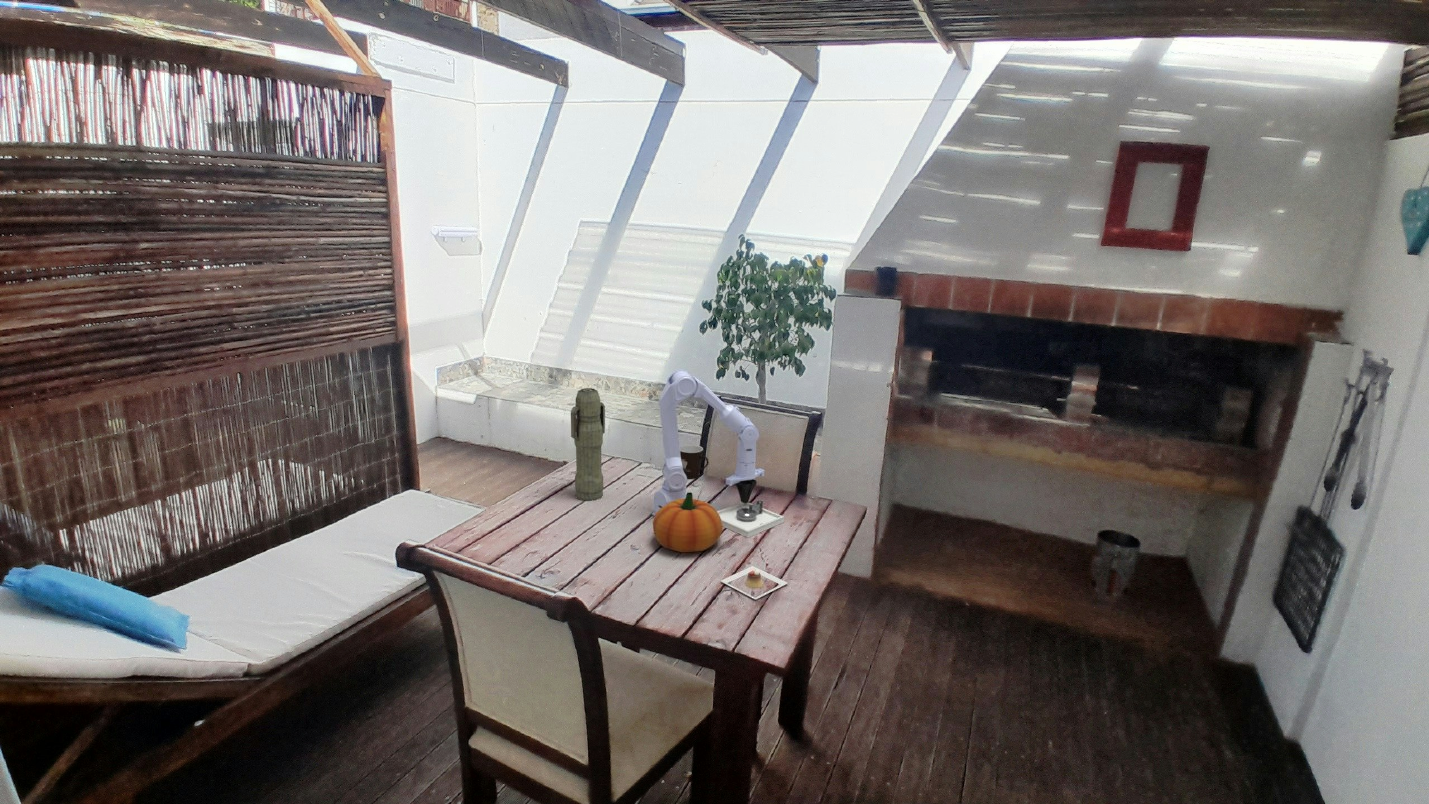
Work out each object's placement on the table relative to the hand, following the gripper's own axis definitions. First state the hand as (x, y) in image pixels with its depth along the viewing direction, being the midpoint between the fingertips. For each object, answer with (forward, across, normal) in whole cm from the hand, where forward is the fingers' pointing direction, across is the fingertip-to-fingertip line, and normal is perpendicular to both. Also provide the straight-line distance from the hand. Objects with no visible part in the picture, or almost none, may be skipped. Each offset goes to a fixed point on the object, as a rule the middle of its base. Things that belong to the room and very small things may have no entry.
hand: (744, 502), depth 222 cm
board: (+3, +5, +6) cm, 9 cm away
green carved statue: (+3, +31, -39) cm, 50 cm away
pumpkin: (+3, +28, +6) cm, 29 cm away
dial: (+1, +3, +6) cm, 7 cm away
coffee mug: (+3, -6, -32) cm, 33 cm away
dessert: (+3, +30, +35) cm, 46 cm away
